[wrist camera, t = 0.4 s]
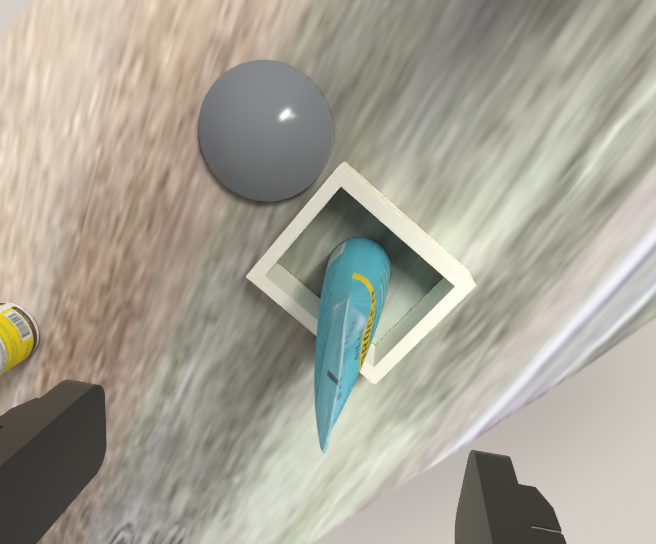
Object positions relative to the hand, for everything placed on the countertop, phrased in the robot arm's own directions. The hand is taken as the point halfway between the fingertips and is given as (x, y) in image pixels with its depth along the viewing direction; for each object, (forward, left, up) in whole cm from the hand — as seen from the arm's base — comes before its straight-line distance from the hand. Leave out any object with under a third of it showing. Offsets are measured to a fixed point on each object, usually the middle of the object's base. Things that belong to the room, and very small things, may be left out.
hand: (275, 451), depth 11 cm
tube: (+3, +2, -30) cm, 30 cm away
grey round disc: (0, -10, -30) cm, 31 cm away
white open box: (+3, +2, -30) cm, 30 cm away
